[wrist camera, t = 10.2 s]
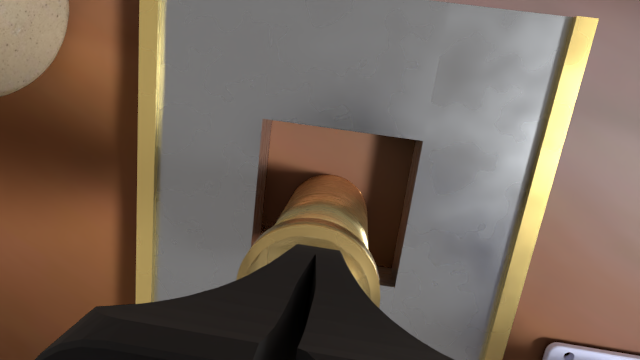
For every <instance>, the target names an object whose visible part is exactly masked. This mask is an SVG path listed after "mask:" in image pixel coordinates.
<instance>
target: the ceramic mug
mask: <svg viewBox="0 0 640 360" xmlns="http://www.w3.org/2000/svg"><path fill="white" fill-rule="evenodd" d="M68 18H69V0H0V97H1V96H5V95H8V94H11V93H13V92H15V91H17V90H19V89H21V88H23V87H25V86H27V85H28V84H30V83H31V82H33V81H34V80H35V79H37V78H38V77H39V76H40V75H41V74H42V73H43V72H44V71H45V70H46V69H47V68H48V67H49V65H50V64H51V63H52V62H53V60H54V59H55V57H56V55H57V53H58V51H59V49H60V47H61V45H62V43H63V40H64V37H65V34H66V30H67V24H68Z"/></svg>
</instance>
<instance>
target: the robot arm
mask: <svg viewBox="0 0 640 360" xmlns="http://www.w3.org/2000/svg"><path fill="white" fill-rule="evenodd" d="M567 352H570V354H569V355H567V356H564V354H565V353H567ZM35 360H454V359H452V358H450V357H448V356H446V355H444V354H442V353H440V352H438V351H437V350H435V349H433V348H432V347H430V346H428V345H427V344H425V343H423V342H421V341H420V340H418V339H417V338H415V337H414V336H412V335H411V334H410V333H408V332H407V331H405V330H404V329H403V328H402V327H400V326H399V325H398V324H396V323H395V322H394V321H393V320H391V319H390V318H389V317H388V316H387V315H386V314H385V313H384V312H383V311H382V310H380V309H379V308H378V307H377V306H376V305H375V304H374V303H373V302H372V300H371V299H370V298H369V297H368V296H367V295H366V293H365V292H364V291H363V290H362V288H361V287H360V285H359V284H358V282H357V281H356V279H355V278H354V276H353V275H352V273H351V271H350V269H349V267H348V266H347V264H346V262H345V260H344V257H343V255H342V253H341V252H340V250H334V249H327V248H321V247H315V246H308V245H302V244H296V245H295V246H293V247H292V248H291V249H289V250H288V251H286V252H285V253H283V254H282V255H281V256H279V257H278V258H276V259H275V260H273V261H272V262H270V263H269V264H267V265H265V266H263V267H261V268H260V269H258V270H256V271H254V272H252V273H251V274H249V275H247V276H245V277H243V278H240V279H238V280H236V281H233V282H231V283H228V284H226V285H223V286H220V287H217V288H214V289H210V290H207V291H203V292H200V293H196V294H193V295H189V296H184V297H179V298H174V299H169V300H163V301H156V302H149V303H141V304H128V305H115V306H97V307H95V308H94V309H92V310H91V311H90V312H89V313H88V314H86V315H85V316H84V317H83V318H82V319H80V320H79V321H78V322H77V323H76V324H75V325H73V326H72V327H71V328H70V329H69V330H68V331H66V332H65V333H64V334H63V335H62V336H61V337H59V338H58V339H57V340H56V341H55V342H54V343H52V344H51V345H50V346H49V347H48V348H47V349H45V350H44V351H43V352H42V353H41V354H40V355H39V356H38V357H37V358H36V359H35ZM542 360H640V356H637V355H631V354H625V353H619V352H613V351H607V350H601V349H595V348H589V347H583V346H577V345H571V344H565V343H559V342H554V343H551V344H549V345H548V346H547V348H546V350H545V353H544V356H543V359H542Z"/></svg>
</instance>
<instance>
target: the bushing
mask: <svg viewBox="0 0 640 360" xmlns="http://www.w3.org/2000/svg"><path fill="white" fill-rule="evenodd" d="M296 244H302V245H308V246H315V247H321V248H327V249H334V250H340V252H341V253H342V255H343V257H344V260H345V262H346V264H347V266H348V267H349V269H350V271H351V273H352V275H353V276H354V278H355V279H356V281H357V282H358V284H359V285H360V287H361V288H362V290H363V291H364V292H365V293H366V295H367V296H368V297H369V298H370V299H371V300H372V302H373V303H374V304H375V305H376V306H377V307H378V308H379V307H380V284H379V275H378V270H377V266H376V263H375V261H374V259H373V257H372V255H371V253H370V251H369V246H368V222H367V207H366V203H365V200H364V198H363V196H362V194H361V192H360V191H359V190H358V189H357V187H356V186H355V185H353V184H352V183H351V182H349V181H348V180H346V179H344V178H341V177H338V176H334V175H320V176H315V177H312V178H310V179H308V180H306V181H305V182H303V183H302V184H301V185H300V186H299V187H298V188H297V189H296V190H295V192H294V193H293V195H292V197H291V198H290V200H289V202H288V203H287V205H286V207H285V209H284V210H283V212H282V214H281V215H280V217H279V219H278V220H277V222H276V224H275V225H274V226H273V227H271V228H270V229H268V230H266V231H265V232H264V233H263V234H262V235H261V236H259V238H258V239H257V240H256V241H255V242H254V244H253V245H252V247H251V248H250V250H249V251H248V253H247V254H246V256H245V257H244V259H243V261H242V263H241V265H240V267H239V270H238V274H237V279H236V280H238V279H240V278H243V277H245V276H247V275H249V274H251V273H252V272H254V271H256V270H258V269H260V268H261V267H263V266H265V265H267V264H269V263H270V262H272V261H273V260H275V259H276V258H278V257H279V256H281V255H282V254H283V253H285V252H286V251H288V250H289V249H291V248H292V247H293V246H295V245H296Z"/></svg>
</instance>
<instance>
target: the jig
mask: <svg viewBox="0 0 640 360" xmlns="http://www.w3.org/2000/svg"><path fill="white" fill-rule="evenodd" d="M598 20H599V19H597V18H589V17H580V16H576V17H566V16H557V15H549V14H540V13H532V12H523V11H515V10H506V9H498V8H489V7H481V6H472V5H464V4H455V3H447V2H438V1H430V0H139V74H138V152H137V230H136V304H141V303H149V302H156V301H163V300H169V299H174V298H179V297H184V296H189V295H193V294H196V293H200V292H203V291H207V290H210V289H214V288H217V287H220V286H223V285H226V284H228V283H231V282H233V281H236V279H237V274H238V270H239V267H240V265H241V263H242V261H243V259H244V257H245V256H246V254H247V253H248V251H249V250H250V248H251V247H252V245H253V244H254V242H255V241H256V240H257V239H258V238H259V236H261V226H262V216H263V205H264V195H265V185H266V174H267V164H268V153H269V143H270V133H271V122H272V120H276V121H283V122H291V123H298V124H305V125H312V126H319V127H326V128H334V129H341V130H348V131H355V132H362V133H370V134H377V135H384V136H391V137H398V138H405V139H413V140H416V141H415V147H414V152H413V157H412V162H411V168H410V173H409V178H408V184H407V189H406V194H405V200H404V205H403V210H402V215H401V221H400V226H399V231H398V237H397V242H396V247H395V252H394V258H393V263H392V268H386V267H380V266H377V270H378V275H379V284H380V307H379V309H380V310H382V311H383V312H384V313H385V314H386V315H387V316H388V317H389V318H390V319H391V320H393V321H394V322H395V323H396V324H398V325H399V326H400V327H402V328H403V329H404V330H405V331H407V332H408V333H410V334H411V335H412V336H414V337H415V338H417V339H418V340H420V341H421V342H423V343H425V344H427V345H428V346H430V347H432V348H433V349H435V350H437V351H438V352H440V353H442V354H444V355H446V356H448V357H450V358H452V359H454V360H502V359H503V356H504V352H505V349H506V345H507V342H508V338H509V335H510V331H511V328H512V324H513V320H514V317H515V313H516V310H517V306H518V303H519V299H520V296H521V292H522V289H523V285H524V282H525V278H526V275H527V271H528V267H529V264H530V260H531V257H532V253H533V250H534V246H535V243H536V239H537V236H538V232H539V229H540V225H541V222H542V218H543V214H544V211H545V207H546V204H547V200H548V197H549V193H550V190H551V186H552V183H553V179H554V176H555V172H556V169H557V165H558V161H559V158H560V154H561V151H562V147H563V144H564V140H565V137H566V133H567V130H568V126H569V123H570V119H571V116H572V112H573V108H574V105H575V101H576V98H577V94H578V91H579V87H580V84H581V80H582V77H583V73H584V70H585V66H586V63H587V59H588V55H589V52H590V48H591V45H592V41H593V38H594V34H595V31H596V27H597V24H598Z"/></svg>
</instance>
